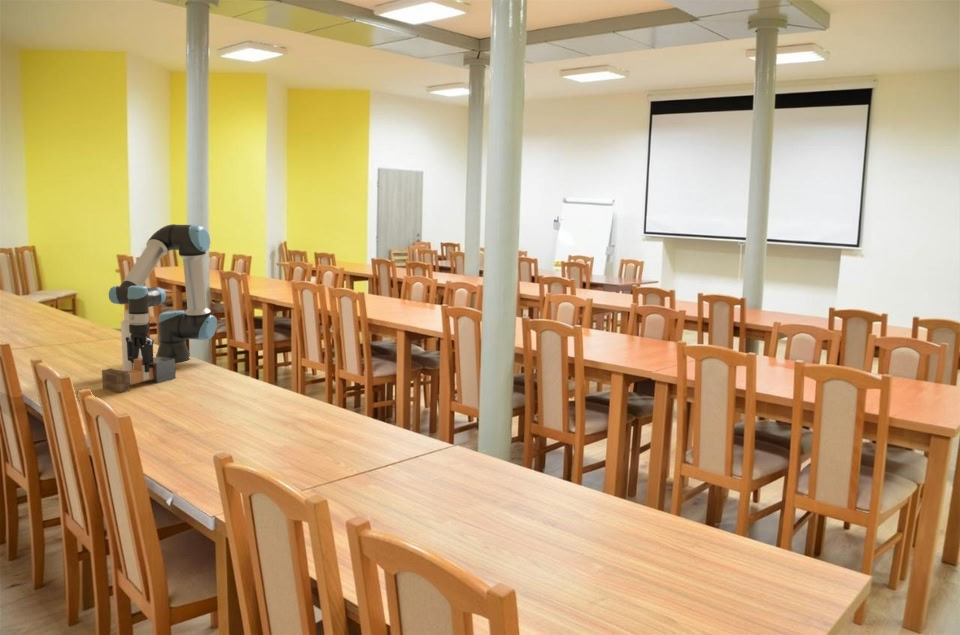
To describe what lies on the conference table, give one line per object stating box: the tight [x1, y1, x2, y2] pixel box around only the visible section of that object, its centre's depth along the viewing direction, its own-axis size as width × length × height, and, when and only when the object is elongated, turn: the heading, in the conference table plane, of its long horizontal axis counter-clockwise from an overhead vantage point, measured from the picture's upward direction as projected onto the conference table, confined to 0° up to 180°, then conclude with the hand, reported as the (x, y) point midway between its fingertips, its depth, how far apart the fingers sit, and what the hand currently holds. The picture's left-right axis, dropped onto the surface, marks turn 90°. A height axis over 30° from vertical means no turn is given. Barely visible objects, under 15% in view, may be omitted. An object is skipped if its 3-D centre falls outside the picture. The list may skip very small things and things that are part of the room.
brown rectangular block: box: [101, 368, 130, 394], centre depth 302 cm, size 4×10×8 cm, turn 66°
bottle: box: [120, 309, 142, 371], centre depth 327 cm, size 8×8×28 cm
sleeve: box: [146, 356, 177, 384], centre depth 321 cm, size 10×9×9 cm
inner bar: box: [128, 358, 154, 386], centre depth 315 cm, size 20×4×9 cm, turn 156°
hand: (141, 378), depth 313 cm, fingers closed on inner bar, 4 cm apart
